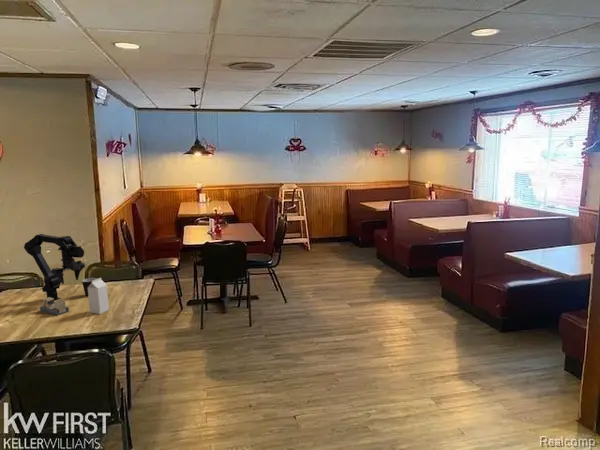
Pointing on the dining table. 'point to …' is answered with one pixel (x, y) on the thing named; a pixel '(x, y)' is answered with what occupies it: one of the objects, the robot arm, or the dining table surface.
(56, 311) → the rail
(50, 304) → the block
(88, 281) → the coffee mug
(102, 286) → the milk carton
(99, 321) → the dining table surface
